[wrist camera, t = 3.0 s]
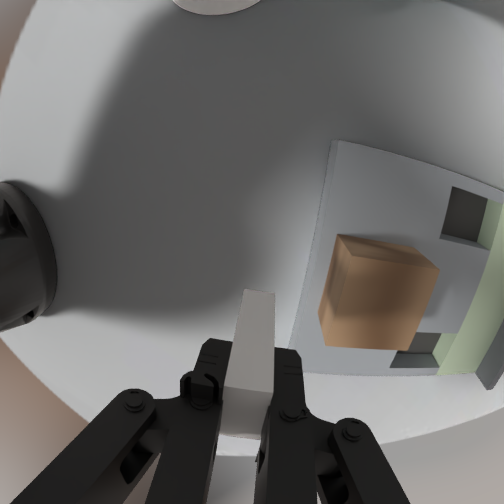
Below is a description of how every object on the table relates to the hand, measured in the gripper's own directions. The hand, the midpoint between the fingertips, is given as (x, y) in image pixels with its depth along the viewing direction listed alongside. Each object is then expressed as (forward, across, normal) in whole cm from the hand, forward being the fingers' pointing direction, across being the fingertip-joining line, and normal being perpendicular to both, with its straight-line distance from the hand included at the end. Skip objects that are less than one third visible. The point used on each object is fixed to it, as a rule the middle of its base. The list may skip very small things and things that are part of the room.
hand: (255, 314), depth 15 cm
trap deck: (+9, +14, 0) cm, 17 cm away
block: (+6, +8, 0) cm, 10 cm away
